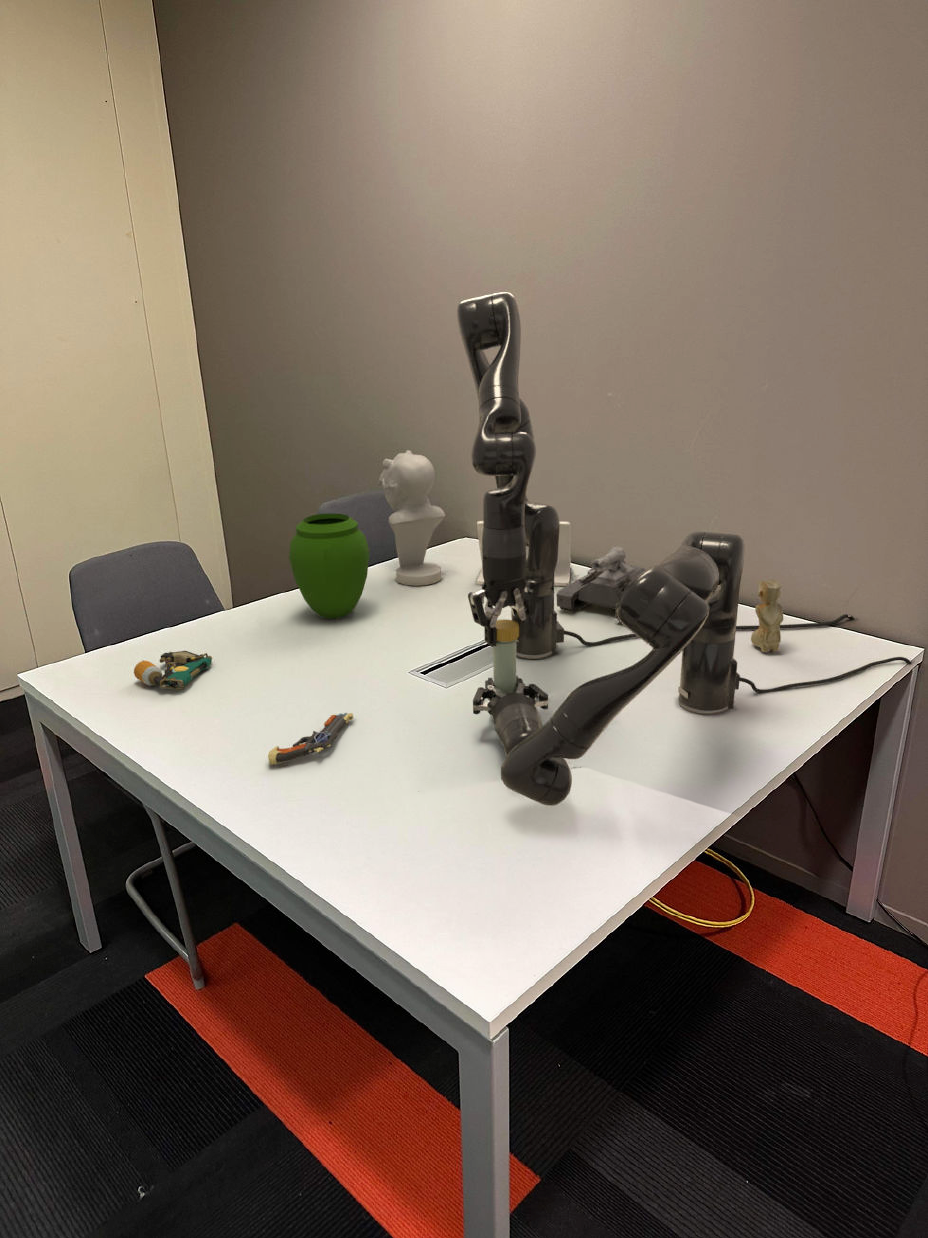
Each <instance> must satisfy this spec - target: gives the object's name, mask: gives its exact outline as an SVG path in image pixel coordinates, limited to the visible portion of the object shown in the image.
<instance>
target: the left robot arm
mask: <svg viewBox="0 0 928 1238" xmlns="http://www.w3.org/2000/svg"><path fill="white" fill-rule="evenodd" d="M518 307H519V306H518V303H517V301H516V298H515V297H514V295H513V294H512V293H510V292H508V291H503V292H501V291H500V292H496V293H491V294H486V295H482V296H477V297H473V298H469V299H465V300H461V302H459V304H458V305H457V309H456V310H457V311H456V314H457V315H456V317H457V323H458V329H459V332H460V336H461V340H462V345H463V347H464V350H465V354H466V357H467V361H468V364H469V367H470V371H471V375H472V378H473V382H474V385H475V389H476V395H477V399H478V411H479V414H478V415H479V423H478V429H477V431H476V435H475V437H474V439H473V440H474V441H473V444H472V449H471V454H470V455H471V457H470V459H471V464H472V467H473V469H474V470H475V472H476V473H478V474H479V475H481V476H483V477H494V479H495V485H496V488H492V489H489V490H487V491H486V492H485V493H484V494H483V498H482V506H483V507H482V508H483V509H482V521H483V534H482V560H481V564H482V563H483V578H484V584H483V585H482V586H481V589H480V590H478V591H476V592H473V591H470V592H469V593H468V594H467V599H468V603H469V606H470V607H469V608H470V611H471V615H472V619H473V622H474V623H476V624H478V625H480V626H481V627H484V628H483V629H484V633H483V634H484V642H485V643H486V644H487V645H488V646H490V647H491V648H493V647H494V646H496V645H497V627H495V625H496V622H497V620H498V618H499V616H501V614H502V611H503V609H505V608H506V607H509V608H510V615H511V617H510V618H511V619H510V620H513V621H516V622H517V623H518V624H519V637H518V638H517V639H516V658H517V657H518V658H521V659H525V660H526V659H527V660H540V659H545V658H548V657H550V656H552V655H557V654H558V653H557V650H558V649H557V648H558V647H557V645H558V644H562V643H565V636H569V637H573V638H574V639H576V640H578V641H579V642H580V643H581V644H582V645H584V646H587V647H596V646H601V645H605V644H607V643H611V642H615V641H622V640H626V639H627V640H628V639H633V638H639V637H638V636H637V635H635V634H634V633H629V634H623V635H622V634H621V635H617V636H612V637H608V638H605V639H601V640H598V641H586V640H585V639H584V638H583V637H582V636H581V635H580V634H578V633H576V632H573V631H569V630H565V628H564V627H563V626H562V624H561V623H560V622H559V621H558V613H557V612H556V611H555V586H554V572H555V568H556V564H557V560H558V545H559V530H560V524H559V522H560V517H559V514H558V511H557V509H556V508H555V507H554V506H552V505H549V504H545V503H539V502H533V501H529V499H528V496H527V490H528V485H529V481H530V477H531V475H532V471H533V467H534V465H535V460H536V455H537V447H536V443H535V437H534V436H535V435H534V431H533V427H532V426H533V425H532V420H531V416H530V411H529V408H528V406H527V405H526V404H525V402H524V401H523V400H522V399H521V397H520V392H519V391H520V390H519V374H520V373H519V372H520V362H521V359H520V358H521V344H522V343H521V342H522V341H521V339H522V324H521V316H520V312H519V308H518ZM496 348H499V350H498V352H497V354H496V355H495V357H494V359H493V360H492V361H491V363H490V361H489V360H488V358H487V356H486V353H485V351H487V350H491V349H496ZM526 546H528V547H529V552H528V558H527V559H526ZM485 598H486V601H485ZM847 614H848V613H844V614H842V615H840V616H839V617H837V618H836V619H833V620H830V621H824V622H823V621H822V622H810V623H809V622H808V623H792V624H780V630H782V629H783V630H784V629H800V628H801V629H803V628H817V627H818V628H820V627H828V626H833V625H836V624H838V623H840V622H841V621H843V620H845V619H849V620H850V621H855V618H854V616H853V615H851V617H848V615H847ZM758 628H759V624H757V625H736V631H739V630H757V629H758Z"/></svg>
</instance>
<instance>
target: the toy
mask: <svg viewBox="0 0 928 1238" xmlns="http://www.w3.org/2000/svg"><path fill="white" fill-rule="evenodd" d="M626 557H627V556H626V551H625V549H624V548H622V547H621V546H614V547H612V548H611V549H610V550H609V552H608V553H607V554H605V555H604V556H601V557H599V558H598V559H597V557H596V558H594V559H593V560H592V561H590V562H589V563H590V564H591V565H592V567H591V568H590V569H589V570H587V573H586V575H584V576H582V577H580V578H578V579H577V580H575V581H573V582H570V583H569V585H567V586H563V587H562V588H560V589H559V590H558V591H557V592H556V607H558V608H559V609H560V610H562V611H566V612H572V613H575V612H577V611H579V610H581V609H582V608H585V607H586V606H588V605H592V606H598V607H602V608H603V607H604V608H609V609H613V610H614V618H615V619H617V620H618V621H620V620H619V619H618V617H617V613H616V608H617V603H618V600H619V598H620V596H621V594H622V592H623V591H624V590H625V588H626V587H627V586H628V585H629V583H630V582H631V581H632V580H633V579H634V578H636V577H637V576H638V575H639V574H641V573H642V572H643V571H645V570H646V568H644V567H641V566H635V565H629V564H628V563H627V562H626V561H625V559H626Z"/></svg>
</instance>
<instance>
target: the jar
mask: <svg viewBox="0 0 928 1238" xmlns="http://www.w3.org/2000/svg"><path fill="white" fill-rule="evenodd" d="M492 651H493V652H492V653H493V655H492V656H493V657H492V661H493V664H492V665H493V667H492V668H493V682H494V685H495V688H499V689H500V690H501V691H502V692H503V693H513V692H516V676H517V656H516V640H513V641H508V642H501V641H497V645H496V646H494V647H492Z"/></svg>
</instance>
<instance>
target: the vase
mask: <svg viewBox="0 0 928 1238" xmlns="http://www.w3.org/2000/svg"><path fill="white" fill-rule="evenodd" d="M358 524H359V523H358V521H356V520H355V519H353V518H352V517H350V516H349V515H347V514H344V513H335V512H334V513H333V512H331V513H320V514H313V515H310V516H307V517H305V518H303V519H302V520H301V521H300V522H299V523H298V524H297V525H296V526H295V532H296V533H295V534H294V536H293V537H292V538H291V540H290V542H289V551H288V559H289V564H290V566H291V567H290V568H291V570H292V575H293V578H294V581H295V584H296V586H297V587H298V589H299V591H300V593H301V596H302V597H303V600H304V601H305V603H306V604H307V605H308V607H309V608H310V609H311V611H312V612H314V613H315V614H316V615H317V616H318V617H320V618H324V619H326V620H327V619H329V620H336V619H341V618H345V617H347V616H349V615H350V614H351V613H352V612H353V611H354V610H355V608H356V607H357V605H358V604H359V601H360V599H361V597H362V595H363V592H364V588H365V586H366V581H367V578H368V570H369V561H370V560H369V559H370V548H369V545H368V541H367V537H366V535H365V534H364V533H363V532H362V531H361V530H360V529H359V527H358Z"/></svg>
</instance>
